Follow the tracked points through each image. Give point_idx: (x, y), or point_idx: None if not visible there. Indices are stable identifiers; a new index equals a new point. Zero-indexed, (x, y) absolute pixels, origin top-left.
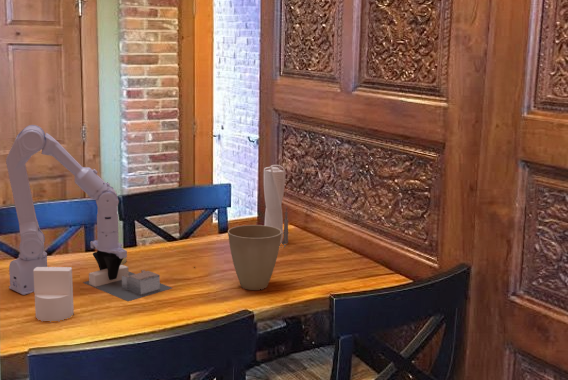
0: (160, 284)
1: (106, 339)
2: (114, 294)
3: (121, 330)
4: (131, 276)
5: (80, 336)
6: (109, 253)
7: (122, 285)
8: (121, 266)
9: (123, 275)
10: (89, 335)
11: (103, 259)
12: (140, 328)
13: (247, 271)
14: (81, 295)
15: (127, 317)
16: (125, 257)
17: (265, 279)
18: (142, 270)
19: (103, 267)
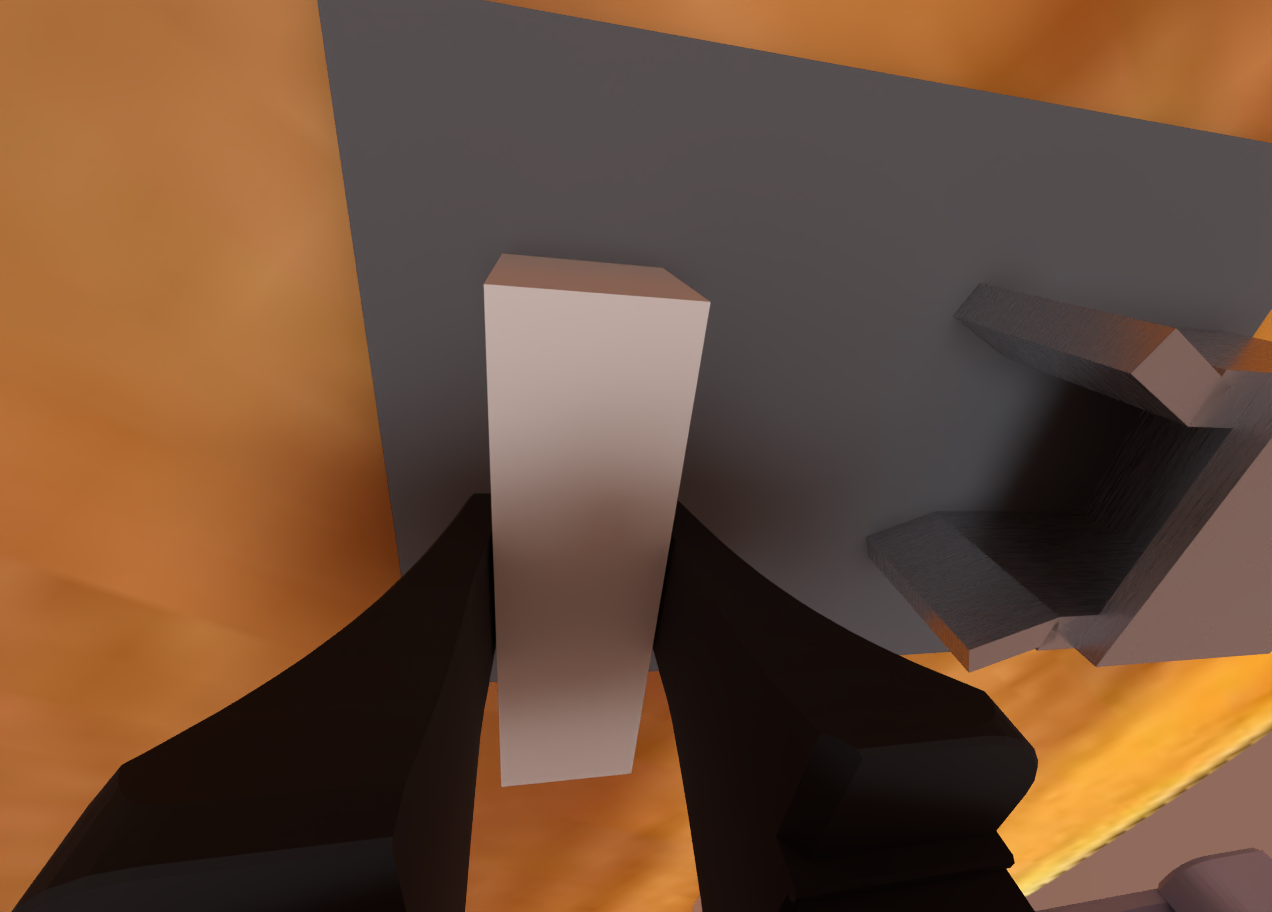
0: (1189, 169)
1: (1117, 836)
2: (879, 644)
3: (1145, 785)
4: (1133, 659)
5: (1012, 877)
6: (434, 826)
7: (899, 584)
8: (577, 370)
9: (979, 655)
10: (1039, 860)
11: (465, 797)
12: (1223, 736)
13: None
14: (661, 760)
15: (1119, 723)
16: (1240, 875)
17: None
18: (1152, 368)
19: (485, 658)
